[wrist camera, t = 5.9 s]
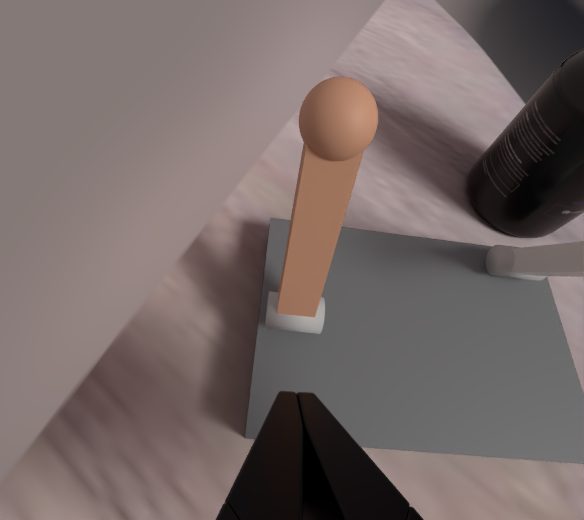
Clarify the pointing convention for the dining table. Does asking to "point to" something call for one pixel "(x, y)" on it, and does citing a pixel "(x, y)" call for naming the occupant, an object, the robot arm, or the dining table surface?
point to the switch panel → (426, 352)
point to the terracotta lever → (321, 198)
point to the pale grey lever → (536, 261)
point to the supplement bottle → (536, 160)
